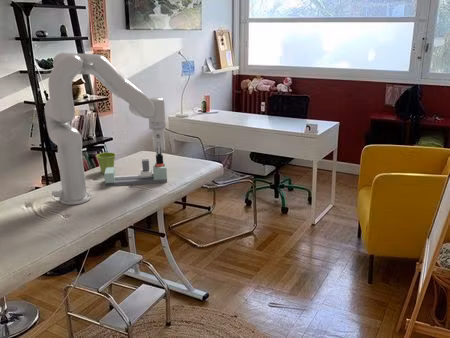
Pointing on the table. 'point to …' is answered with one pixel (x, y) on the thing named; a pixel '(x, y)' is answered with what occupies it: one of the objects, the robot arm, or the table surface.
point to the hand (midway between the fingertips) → (159, 163)
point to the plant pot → (106, 160)
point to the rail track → (135, 177)
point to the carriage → (146, 168)
